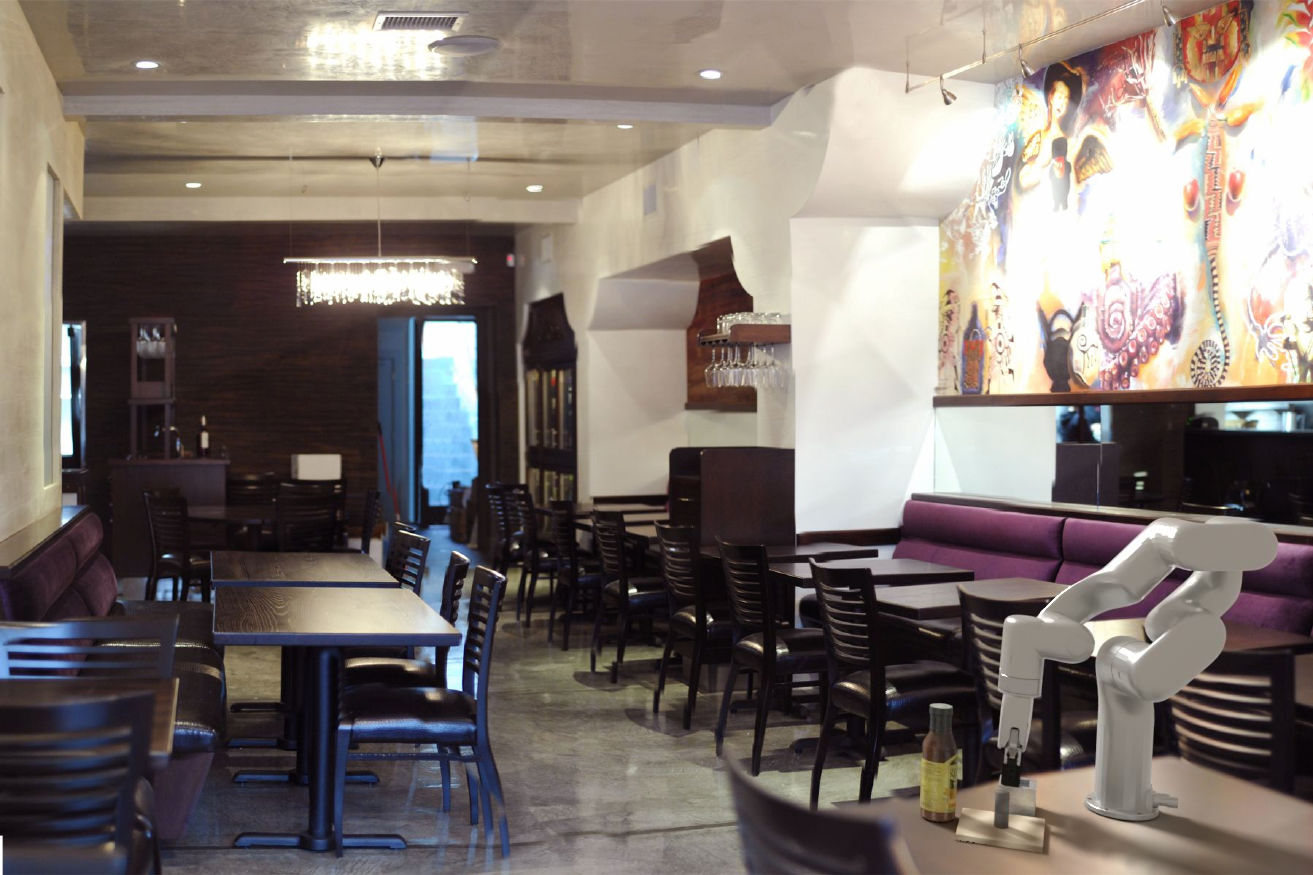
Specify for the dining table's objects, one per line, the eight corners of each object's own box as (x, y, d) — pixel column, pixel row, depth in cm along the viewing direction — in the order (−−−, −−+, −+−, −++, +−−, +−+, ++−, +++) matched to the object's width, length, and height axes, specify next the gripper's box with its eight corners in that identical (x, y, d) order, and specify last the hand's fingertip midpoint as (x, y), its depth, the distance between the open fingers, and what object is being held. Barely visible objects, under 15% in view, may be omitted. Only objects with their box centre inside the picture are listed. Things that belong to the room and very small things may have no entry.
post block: (1044, 824, 211) (1046, 784, 211) (1042, 852, 198) (1044, 810, 197) (962, 812, 215) (964, 774, 215) (955, 839, 202) (956, 798, 202)
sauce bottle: (956, 825, 209) (961, 712, 208) (919, 821, 210) (924, 709, 210) (954, 812, 216) (959, 702, 215) (919, 809, 217) (923, 699, 216)
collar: (1035, 806, 220) (1036, 779, 220) (1034, 817, 214) (1035, 789, 214) (999, 801, 222) (1000, 774, 222) (997, 812, 216) (998, 784, 216)
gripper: (1001, 672, 227) (992, 761, 227) (995, 691, 210) (986, 788, 211) (1042, 678, 224) (1034, 768, 225) (1040, 698, 208) (1031, 795, 208)
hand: (1011, 778), depth 218 cm, fingers open, 9 cm apart
